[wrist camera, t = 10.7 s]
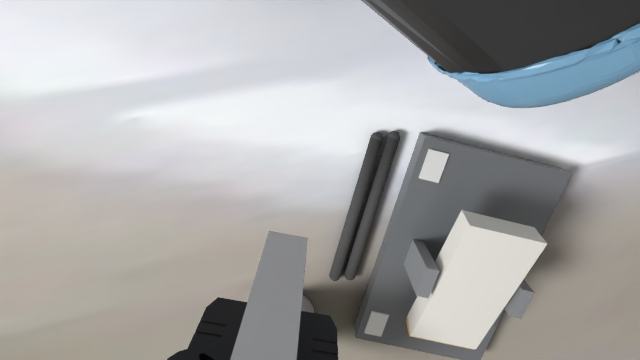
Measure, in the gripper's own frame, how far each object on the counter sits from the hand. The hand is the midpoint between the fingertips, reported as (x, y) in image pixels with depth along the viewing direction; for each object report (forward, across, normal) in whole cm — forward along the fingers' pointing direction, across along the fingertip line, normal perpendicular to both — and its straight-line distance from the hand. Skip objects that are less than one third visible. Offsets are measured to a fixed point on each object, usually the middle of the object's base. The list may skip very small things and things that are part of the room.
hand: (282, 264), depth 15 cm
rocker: (+19, +18, -10) cm, 28 cm away
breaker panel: (+24, +18, -10) cm, 31 cm away
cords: (+24, +8, -7) cm, 26 cm away
